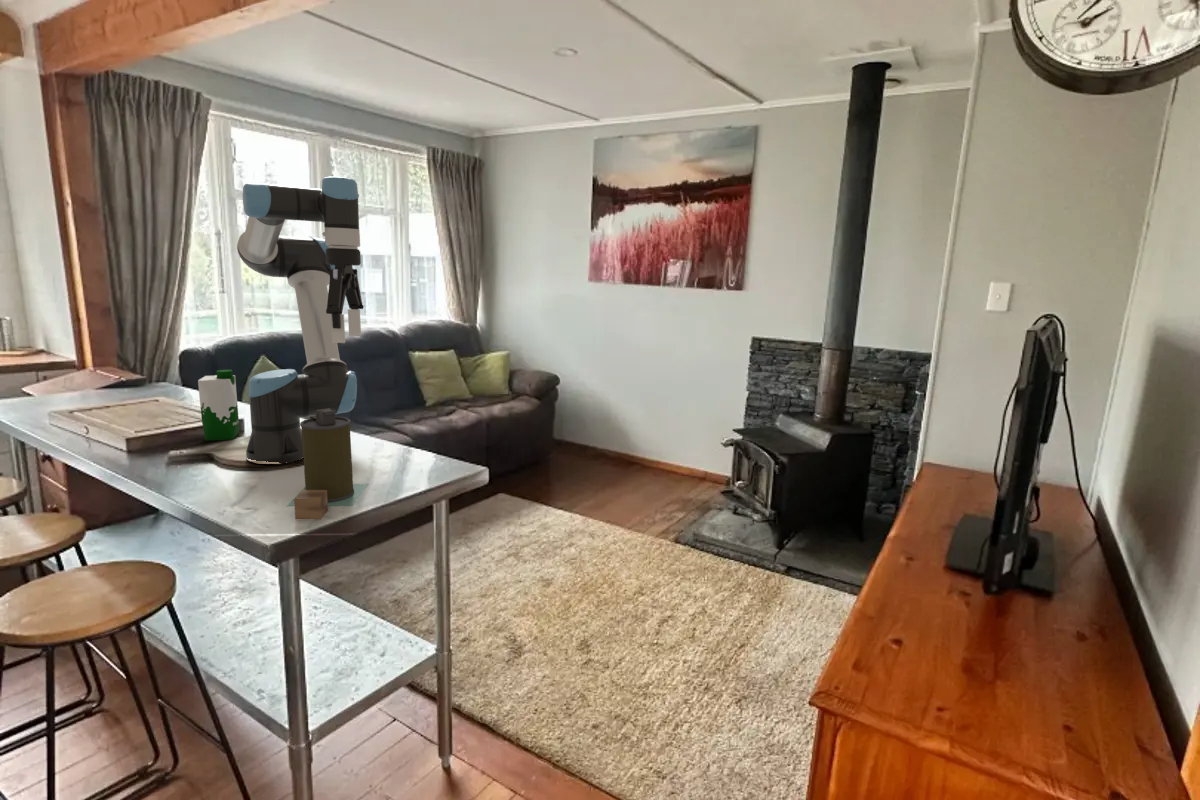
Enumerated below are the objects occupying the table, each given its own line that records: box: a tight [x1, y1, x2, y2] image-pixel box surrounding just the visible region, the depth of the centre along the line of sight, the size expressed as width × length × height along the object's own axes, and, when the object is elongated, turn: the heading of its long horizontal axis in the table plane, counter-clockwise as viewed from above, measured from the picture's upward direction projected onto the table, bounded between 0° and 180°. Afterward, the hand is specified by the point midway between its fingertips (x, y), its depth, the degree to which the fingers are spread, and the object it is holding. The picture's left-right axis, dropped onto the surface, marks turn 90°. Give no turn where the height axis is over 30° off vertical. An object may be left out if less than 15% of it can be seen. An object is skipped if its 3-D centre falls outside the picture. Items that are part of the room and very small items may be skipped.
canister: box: [300, 408, 354, 502], centre depth 142 cm, size 11×10×20 cm
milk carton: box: [197, 368, 240, 442], centre depth 183 cm, size 9×9×20 cm
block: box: [293, 489, 329, 520], centre depth 132 cm, size 5×5×5 cm
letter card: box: [286, 483, 369, 507], centre depth 144 cm, size 14×14×1 cm
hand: (347, 339), depth 149 cm, fingers open, 13 cm apart
